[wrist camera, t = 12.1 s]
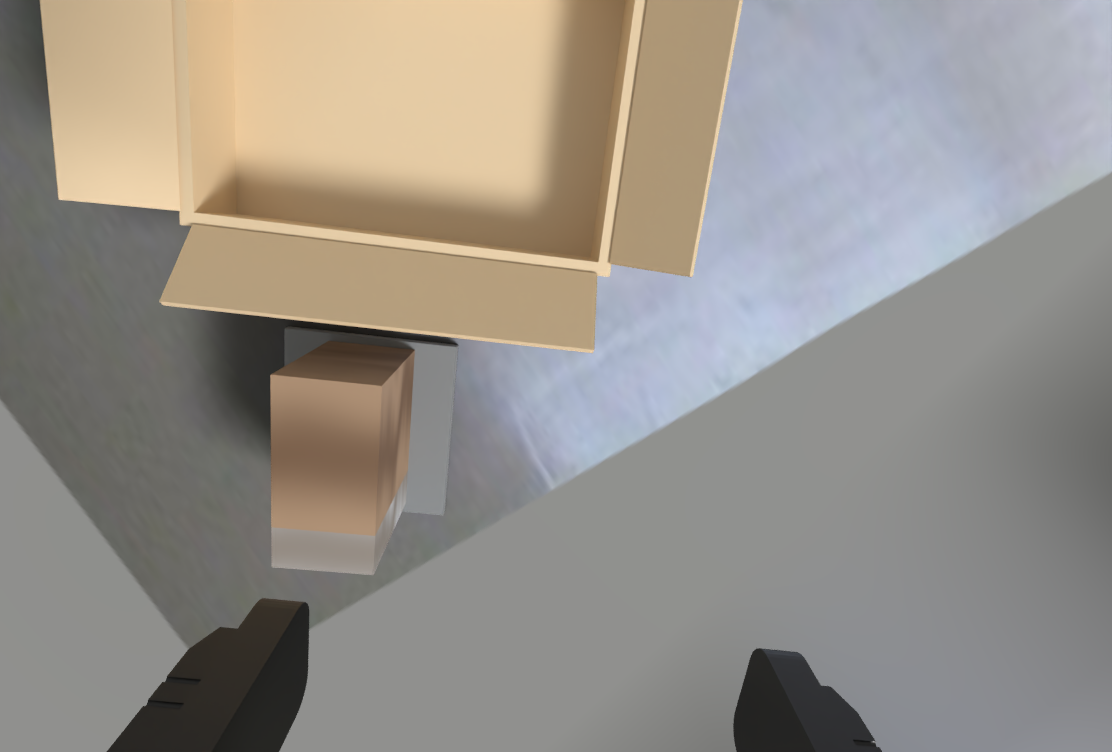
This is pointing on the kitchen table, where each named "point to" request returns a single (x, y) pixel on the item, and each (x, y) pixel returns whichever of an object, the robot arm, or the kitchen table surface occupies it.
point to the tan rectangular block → (339, 455)
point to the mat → (427, 409)
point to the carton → (399, 150)
